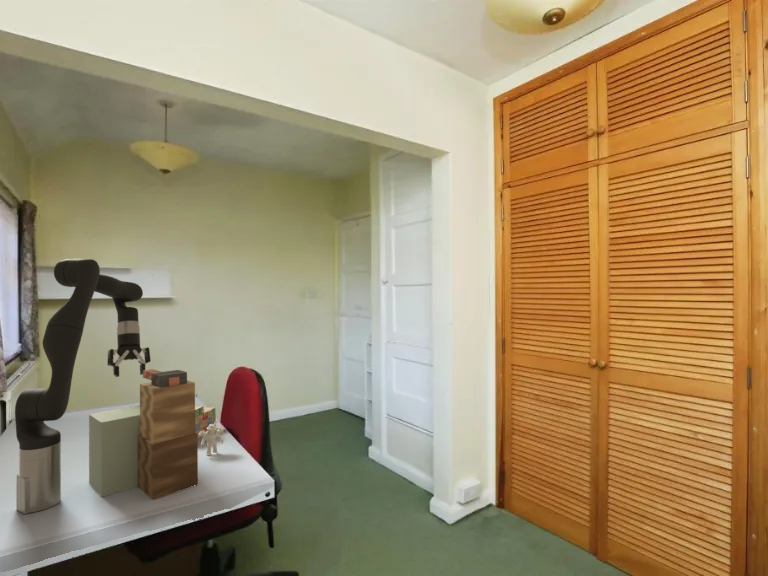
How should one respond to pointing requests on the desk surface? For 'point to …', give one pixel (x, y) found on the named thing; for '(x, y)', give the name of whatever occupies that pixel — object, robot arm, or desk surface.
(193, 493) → the desk surface
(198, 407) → the stack of blocks
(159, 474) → the tower
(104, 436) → the upright pale green block
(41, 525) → the desk surface
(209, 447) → the cream toy figurine
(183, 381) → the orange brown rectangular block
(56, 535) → the desk surface
